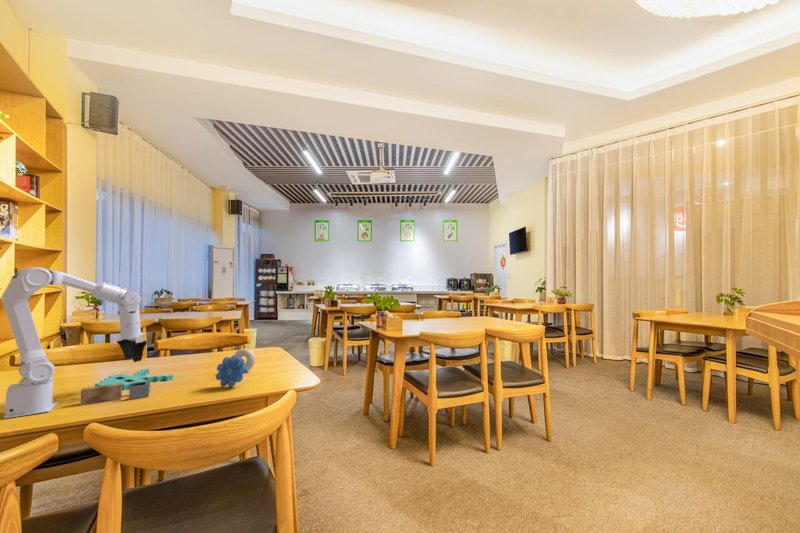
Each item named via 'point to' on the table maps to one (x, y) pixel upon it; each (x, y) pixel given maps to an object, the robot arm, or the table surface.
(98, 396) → the slat
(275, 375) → the table surface
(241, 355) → the donut
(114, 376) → the alien figure
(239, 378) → the blue bumpy cluster
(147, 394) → the end cap
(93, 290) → the robot arm
